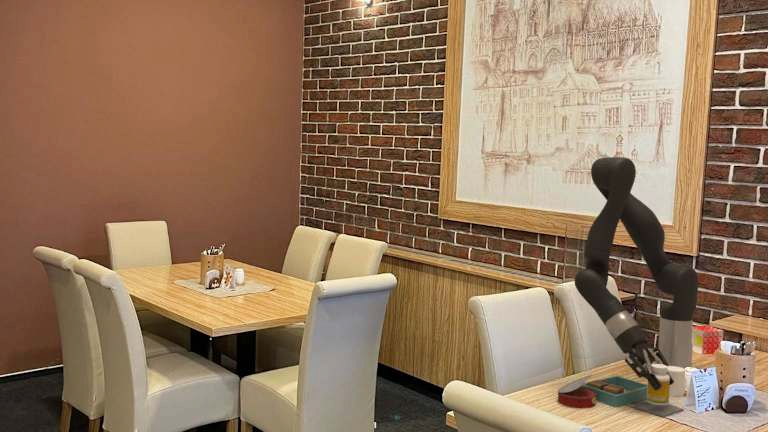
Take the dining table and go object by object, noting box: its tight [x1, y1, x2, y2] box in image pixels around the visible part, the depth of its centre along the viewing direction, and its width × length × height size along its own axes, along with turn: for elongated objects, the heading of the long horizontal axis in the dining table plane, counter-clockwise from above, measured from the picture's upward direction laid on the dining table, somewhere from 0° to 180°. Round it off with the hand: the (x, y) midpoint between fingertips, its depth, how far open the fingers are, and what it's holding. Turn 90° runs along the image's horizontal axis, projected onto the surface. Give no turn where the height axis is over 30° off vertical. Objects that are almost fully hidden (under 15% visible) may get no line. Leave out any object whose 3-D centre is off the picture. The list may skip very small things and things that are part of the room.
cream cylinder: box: [667, 366, 686, 397], centre depth 208 cm, size 7×7×7 cm
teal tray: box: [580, 374, 647, 408], centre depth 204 cm, size 16×12×3 cm
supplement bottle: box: [646, 364, 670, 405], centre depth 194 cm, size 5×5×10 cm
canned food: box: [557, 373, 597, 409], centre depth 198 cm, size 11×10×10 cm
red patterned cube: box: [692, 325, 724, 355], centre depth 256 cm, size 8×8×8 cm
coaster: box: [631, 400, 685, 418], centre depth 194 cm, size 9×9×1 cm
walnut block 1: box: [586, 379, 609, 390], centre depth 203 cm, size 4×4×4 cm
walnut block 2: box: [603, 384, 625, 395], centre depth 200 cm, size 4×4×4 cm
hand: (665, 386), depth 192 cm, fingers closed on supplement bottle, 5 cm apart
